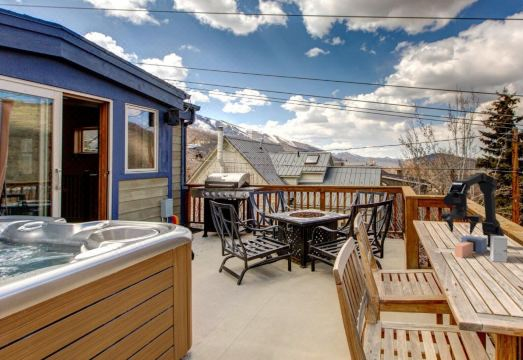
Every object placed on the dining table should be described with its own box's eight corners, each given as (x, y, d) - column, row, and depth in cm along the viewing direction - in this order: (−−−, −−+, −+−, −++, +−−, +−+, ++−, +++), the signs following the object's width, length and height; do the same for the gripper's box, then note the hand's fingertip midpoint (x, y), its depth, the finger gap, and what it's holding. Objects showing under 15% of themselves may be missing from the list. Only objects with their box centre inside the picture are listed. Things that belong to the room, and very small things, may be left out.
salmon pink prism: (466, 252, 177) (465, 241, 176) (473, 253, 174) (473, 242, 173) (454, 256, 169) (454, 245, 169) (462, 257, 166) (462, 246, 166)
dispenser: (466, 248, 184) (466, 235, 184) (486, 251, 176) (486, 238, 176) (460, 250, 180) (460, 237, 180) (481, 254, 172) (481, 240, 172)
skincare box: (493, 261, 159) (493, 237, 158) (489, 259, 163) (489, 235, 163) (507, 262, 157) (507, 237, 156) (504, 259, 161) (504, 235, 161)
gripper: (435, 204, 175) (436, 233, 176) (473, 207, 160) (474, 238, 161) (444, 202, 182) (445, 229, 182) (482, 204, 166) (483, 234, 167)
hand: (461, 233), depth 173 cm, fingers open, 9 cm apart
